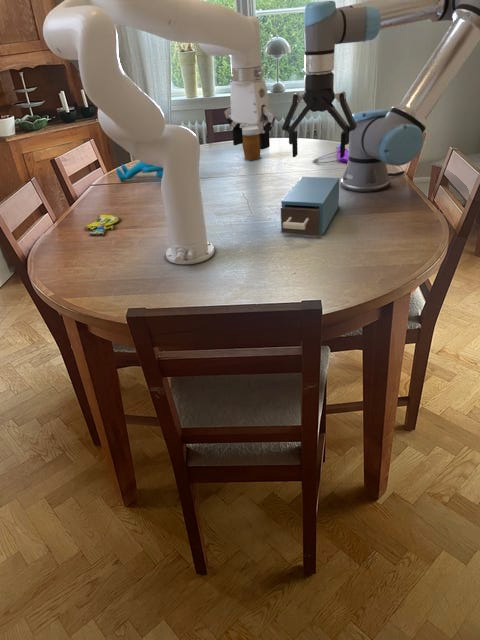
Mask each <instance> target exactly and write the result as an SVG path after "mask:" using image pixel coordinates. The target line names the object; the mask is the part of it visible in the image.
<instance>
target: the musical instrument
mask: <svg viewBox="0 0 480 640" xmlns="http://www.w3.org/2000/svg"><path fill="white" fill-rule="evenodd" d="M336 147H337V148H336V149H337V151H334V152H331V153H328V154H324V155H322V156H320V157H319V156H318V157H317V158H315V159H314V160H313V162H314V163H317V164H318V163H319V164H327V163H333V162H334V163H335V162H344V163H348V154H349V149H347V148H345V156H344V157H343V158H340V150H341V144H337V146H336ZM336 153H337V159H336V160H330V161H318V159H321V158H324V157H326V156H330V155H333V154H336Z"/></svg>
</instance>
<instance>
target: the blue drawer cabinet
mask: <svg viewBox="0 0 480 640" xmlns="http://www.w3.org/2000/svg"><path fill="white" fill-rule="evenodd" d="M339 203H340V177H325V176H301V177H300V178H299V179H298V181H297V182H296V183H295V184H294V186H293V187H292V188H291V189H290V190H289V191H288V192H287V194H286V195H285V196H284V197H283V198H282V199H281V201H280V204H281V205H280V206H281V207H287V206H288V205H298V206H316V207H319V235H318V236H323V235H324V233H325V232H326V230H327V228H328V226H329V224H330V223H331V221H332V220H333V218H334V216H335V214H336V213H337V211H338V209H339V206H340V205H339Z"/></svg>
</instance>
